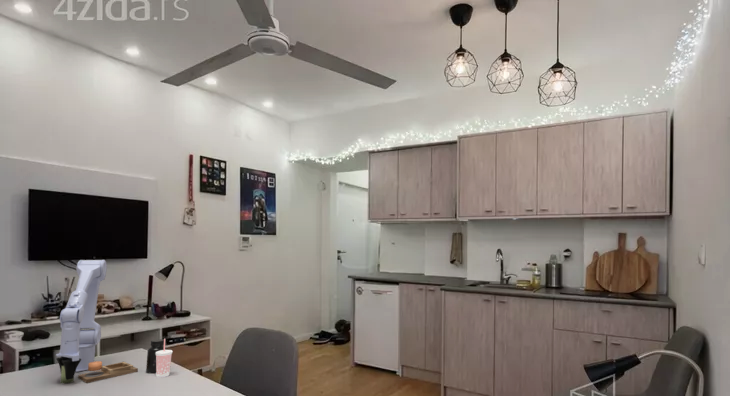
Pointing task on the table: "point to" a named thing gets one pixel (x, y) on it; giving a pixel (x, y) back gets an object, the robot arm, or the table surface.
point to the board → (108, 372)
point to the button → (95, 366)
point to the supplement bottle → (153, 354)
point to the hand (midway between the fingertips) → (67, 377)
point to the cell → (63, 378)
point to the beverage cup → (163, 362)
